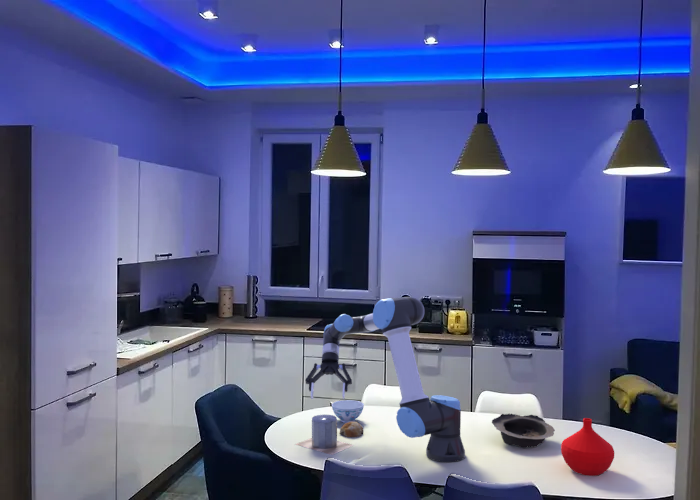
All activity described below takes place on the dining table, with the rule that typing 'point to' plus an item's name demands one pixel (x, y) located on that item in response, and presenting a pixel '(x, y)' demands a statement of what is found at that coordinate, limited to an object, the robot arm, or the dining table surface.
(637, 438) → the dining table surface
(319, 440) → the steel tin
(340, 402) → the chinaware
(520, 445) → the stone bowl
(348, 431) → the bread roll
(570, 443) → the vase
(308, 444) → the striped cloth
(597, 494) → the dining table surface
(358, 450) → the dining table surface
